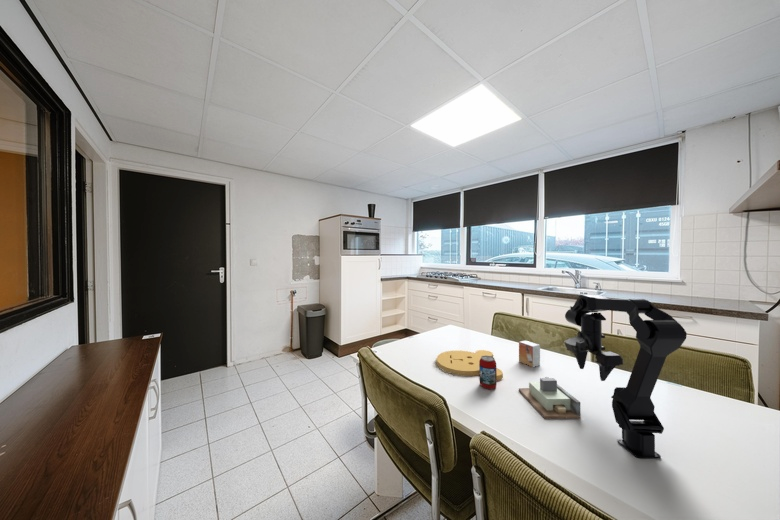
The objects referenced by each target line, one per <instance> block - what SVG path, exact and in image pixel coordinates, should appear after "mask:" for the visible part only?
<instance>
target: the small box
mask: <svg viewBox="0 0 780 520" xmlns="http://www.w3.org/2000/svg"><path fill="white" fill-rule="evenodd" d="M518 362H520V363H521V364H524V365H526V364H527V365H526V366H528V365H529V367H530V368H536V367H539V366H541V345H540V344H539V343H535V342H532V341H528V340H527V339H526V340H520V341H519V342H518ZM538 365H539V366H538ZM535 366H536V367H535Z"/></svg>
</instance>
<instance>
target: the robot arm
mask: <svg viewBox="0 0 780 520" xmlns="http://www.w3.org/2000/svg"><path fill="white" fill-rule="evenodd" d="M606 311H612V312H620V313H621V312H622V313H626V314H627V315H628V318H629V319H628V320H629V325H630V326H631V327H632V328H633V330H634V331H635V332H636V334H635V338H636V340H637V342H638V344H639V350H638V353H637V357H636V359H635V363H634V364H633V368H632V370H631V374H630V376H629V379H628V382H627V384H626V386H625V387H620V386H619V387H617V386H616V387H614V390H613V395H612V396H610V397H611V399H612V401H611V408H612V412H613V416H614V420H615V423H617V424H618V427H619V428H620V429H621V439H617V441H616V442H618V443H619V444H620V445H621V446H622V447H624V449H626V450H627V451H628V452H630V453H631V454H632V455H633V456H634V457H635V458H637V459H661V457H662V456H661V455H660V454H659V453H658V452H656V447H655V446H656V443H655V442H656V441H655V440H656V439H655V438H656V436H655V434H663V432H664V431H665V428H664V426H663V424H662V422H661V421H660V419H659V417H658V416H657V414H656V413H655V405H654V403H653V400H652V399H651V396H652V394H653V391H654V388H655V386H656V385H657V382H658V378H659V376H660V374H661V372H662V369H663V366H664V364H665V362H666V360H667V357H668V356H669V355H670V354H672V353H674V352H676V351H677V350H679V349H680V348H681V347H682V345H684V342H685V341H686V339H687V335H688V334H687V331H686V329H685V328H684V326H682V324H680V323H679V322H678V321H677V320H676V319H675V318H674V317H673V316H672V315H671V314H670V313H667V312H665V311H664V310H661V309H660V308H658V307H656V306H655V305H654V304H653V303H651V301H649V300H648V299H645V298H628V299H627V298H626V299H625V298H609V297H607V296H604V295H601V294H580V295H578V298H577V299H576V300H575V303H574V304H573V305H570V306H569V309H568V310H567V311H566V312H565V314H564V318H565V320H566V322H568V323H570V324H572V325H575V326H577V327H580V331H577V335H576V336H573V337H569V338H566V340H564V341H563V343H564V344H565V347H566V350H567V351H569V352H571V353H573V354H574V356H575V358H576V363H577V364H578V367H579V370H584V368H585V365H586V362H587V357H588V353H590V354H592V355H594V356H595V363H596V364H597V365H598V369H599V378H600V381H601V382H605V381H606V380H607V378H608V377H609V375H610V374H611V372H612V371H613V370H614V369H615V368H616V367H617V366H620V365H621V366H622V365H624V358H623V356H621V355H620V354H618V353H615V352H613V351H605V350H606V347H605V346H604V345H603V343H602V342H603V341H602V340H603V339H606V335H605V334H603V332H602V331H603V329H602V326H603V325H602V321H606V320H607V318H606V317H605V316H604V315H603V314H602V313H601V312H606ZM640 314H644V315H645V316H646V317H648V318H649V319H645V320H644V319H643V318H641V316H640Z"/></svg>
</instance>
